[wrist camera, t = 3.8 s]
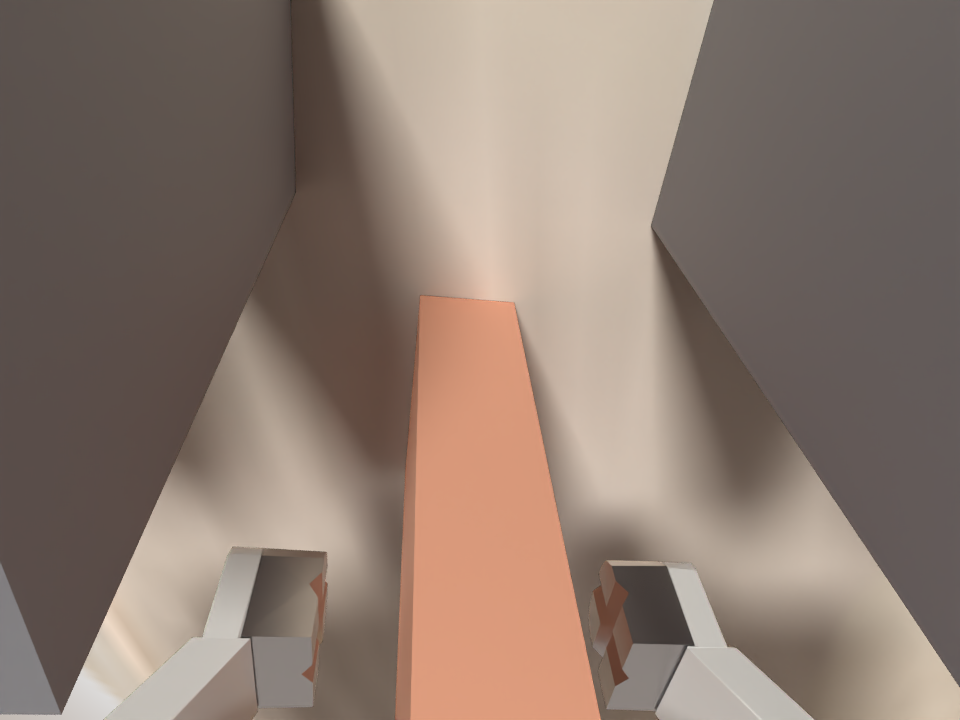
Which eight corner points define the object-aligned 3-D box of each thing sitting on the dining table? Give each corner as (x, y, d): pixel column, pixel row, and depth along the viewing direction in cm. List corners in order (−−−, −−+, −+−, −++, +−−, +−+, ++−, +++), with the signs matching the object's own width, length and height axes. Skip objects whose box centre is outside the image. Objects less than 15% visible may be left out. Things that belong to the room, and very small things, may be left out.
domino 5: (287, -131, 10) (-317, -234, 2) (295, 192, 13) (60, 715, 5) (146, -152, 10) (-1232, -373, 2) (185, 181, 13) (-266, 712, 4)
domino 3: (847, -48, 11) (1992, 112, 3) (744, 234, 14) (1195, 720, 6) (731, -64, 11) (1627, 59, 3) (651, 226, 14) (980, 719, 6)
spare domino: (513, 302, 15) (623, 832, 6) (484, 474, 17) (534, 1000, 9) (419, 295, 14) (406, 837, 6) (405, 470, 17) (383, 1008, 9)
